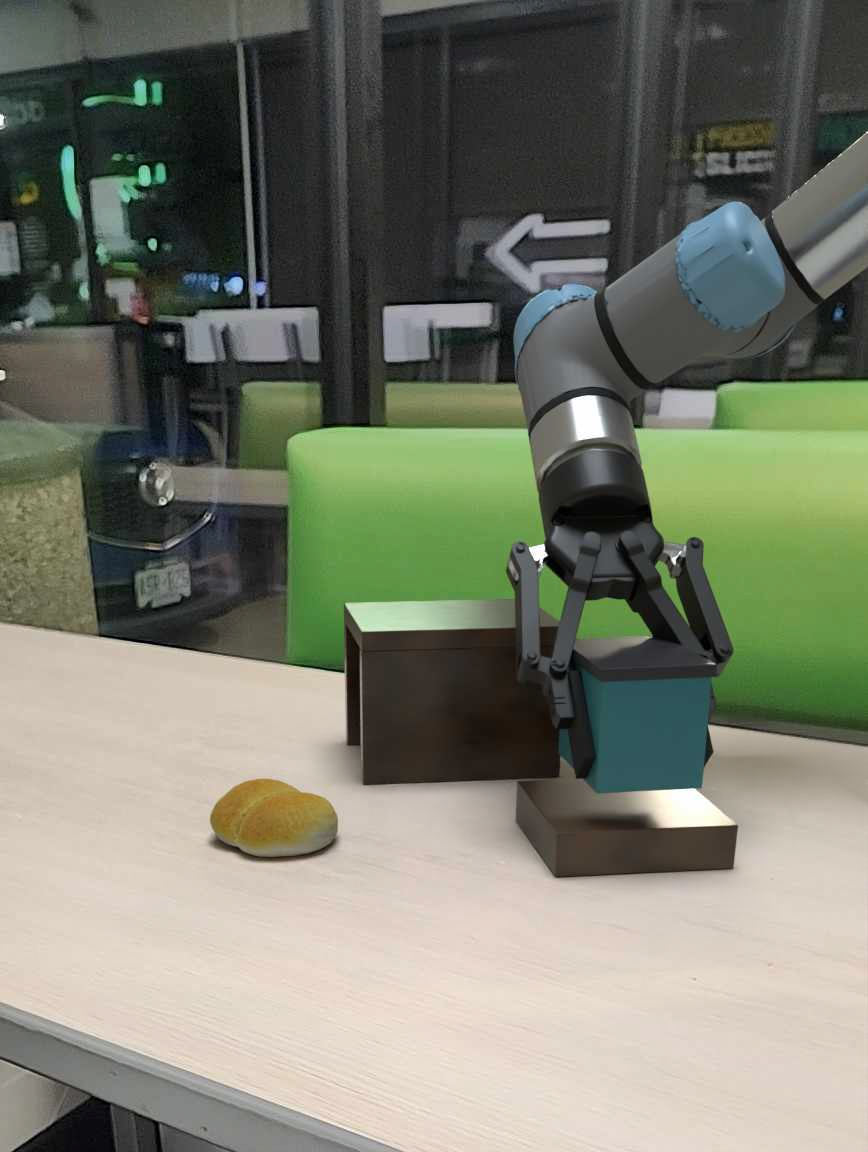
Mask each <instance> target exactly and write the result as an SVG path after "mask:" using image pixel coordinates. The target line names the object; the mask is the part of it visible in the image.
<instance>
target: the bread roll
mask: <svg viewBox="0 0 868 1152" xmlns="http://www.w3.org/2000/svg"><path fill="white" fill-rule="evenodd" d="M338 818H339V817H338V813H337V812H336V810H335V808H334V806H333V804H332V803H331V802H330V801H329V800H328V799H327V798H326V797H324V796H321V795H318V794H314V793H311V792H303V791H301V790H299V789H297V788H296V787H294V786H293V785H291V784H288V783H287V782H284V781H282V780H278V779H273V778H254V779H250V780H246V781H243V782H241V783H238V784H237V785H235V786H234V787H232V788H231V789H230V790H228V791H227V792H226V793H225V794H224V795H222V796H221V798H219V800H217V801H216V803H215V804H214V807H213V808H212V810H211V813H210V817H209V823H210V827H211V829H212V831H213V832H214V834H215V836H216V837H217V839H219V840H220V841H221V842H223V843H224V844H226V845H228V846H231V847H234V848H239V849H240V850H241V851H243V852H244V853H246V854H249V855H252V856H254V857H255V856H256V857H260V858H274V857H277V858H278V857H294V856H295V857H296V856H303V855H306V854H310V853H314V852H317V851H320V850H322V849H323V848H325V847H326V846H329V845H330V844H331V843H332V842H333V840H334V839H335V837H336V836H337V835H338V831H339V819H338Z"/></svg>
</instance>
